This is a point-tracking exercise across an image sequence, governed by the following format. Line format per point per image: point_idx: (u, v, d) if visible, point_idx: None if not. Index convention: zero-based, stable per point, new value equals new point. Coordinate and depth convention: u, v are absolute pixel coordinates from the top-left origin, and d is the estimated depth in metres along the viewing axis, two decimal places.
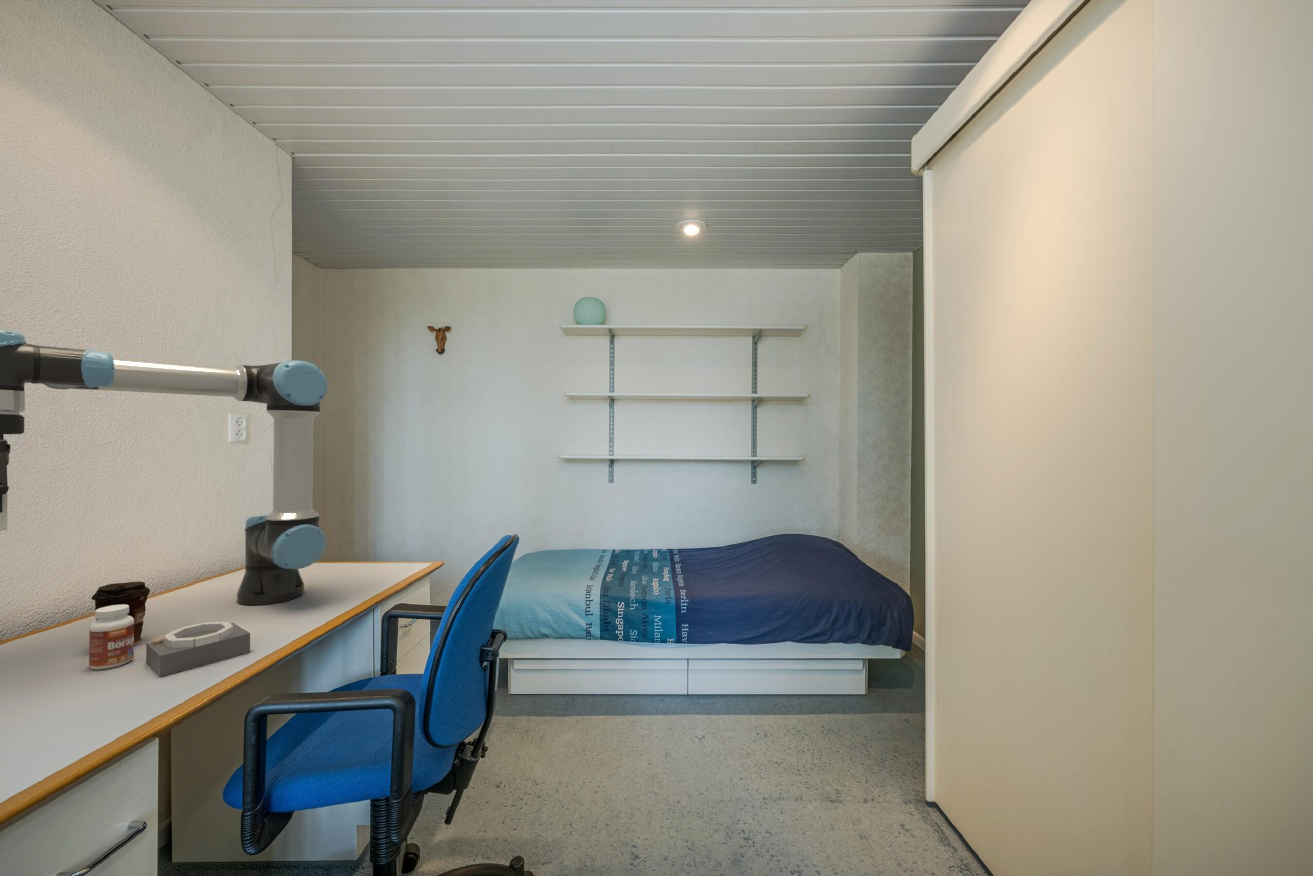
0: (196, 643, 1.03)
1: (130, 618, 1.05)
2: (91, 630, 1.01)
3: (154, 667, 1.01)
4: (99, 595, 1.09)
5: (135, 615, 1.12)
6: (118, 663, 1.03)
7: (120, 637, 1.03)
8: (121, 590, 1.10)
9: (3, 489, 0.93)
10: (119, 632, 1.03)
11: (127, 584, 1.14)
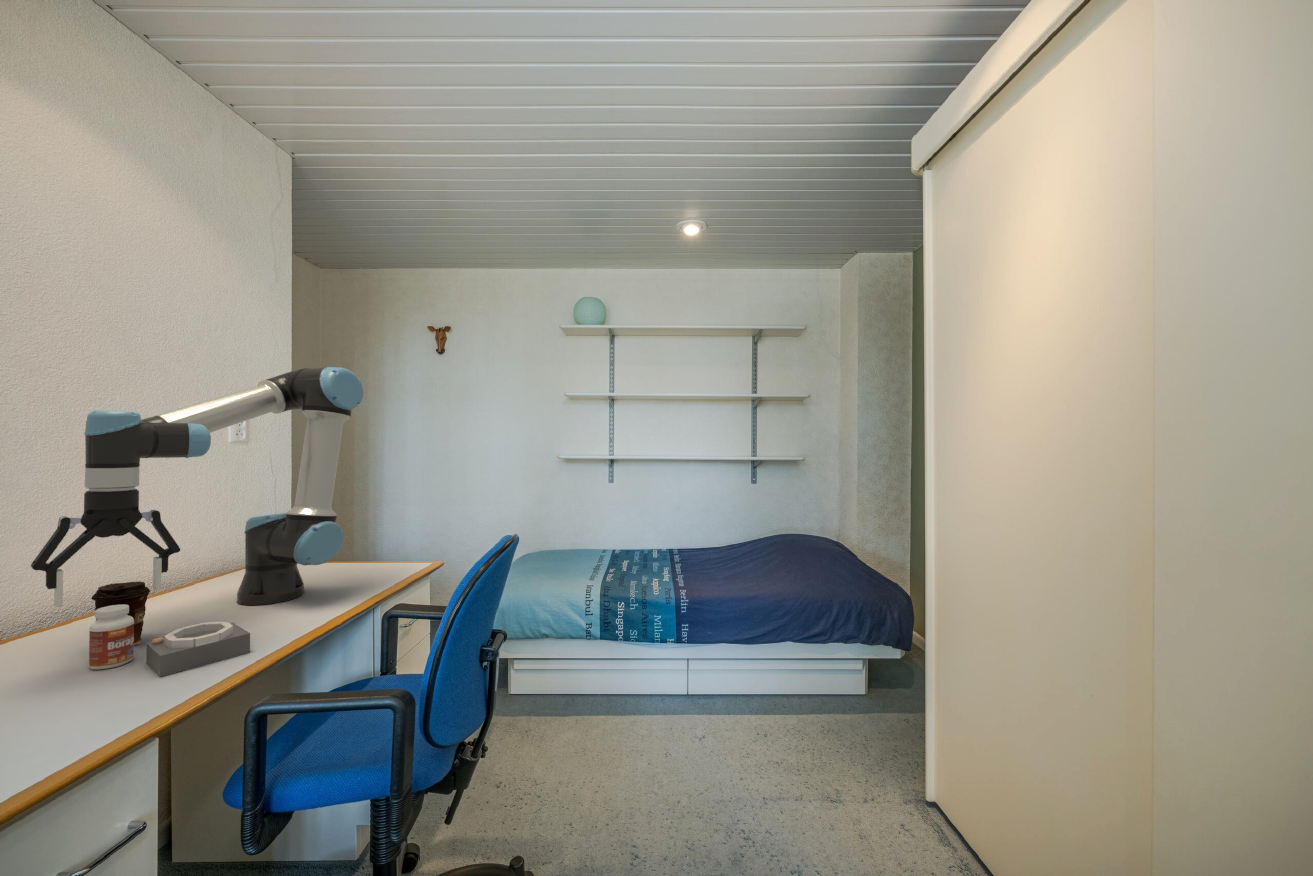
0: (196, 643, 1.03)
1: (130, 618, 1.05)
2: (91, 630, 1.01)
3: (154, 667, 1.01)
4: (99, 595, 1.09)
5: (135, 615, 1.12)
6: (118, 663, 1.03)
7: (120, 637, 1.03)
8: (121, 590, 1.10)
9: None
10: (119, 632, 1.03)
11: (127, 584, 1.14)
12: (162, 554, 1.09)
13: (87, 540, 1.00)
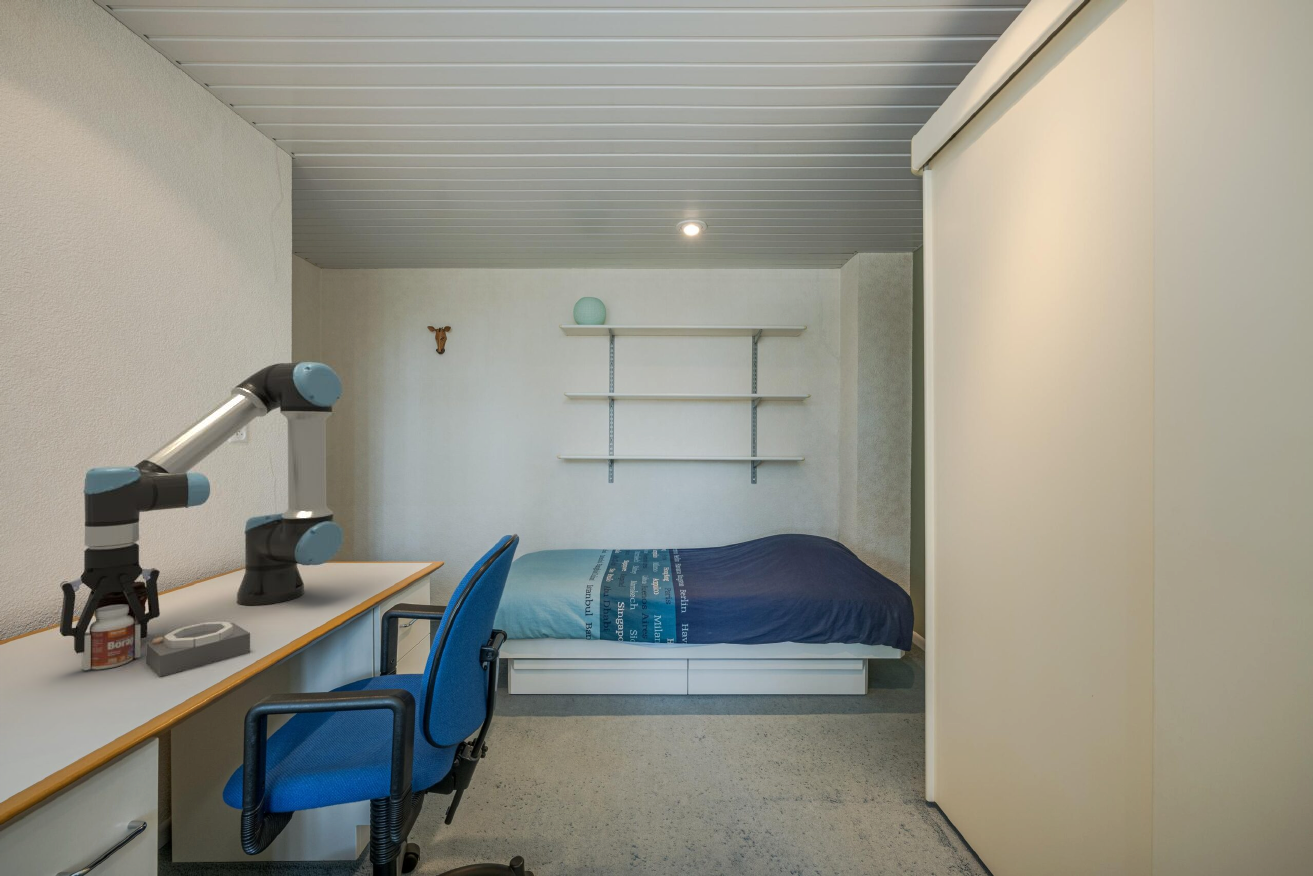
0: (196, 643, 1.03)
1: (130, 618, 1.05)
2: (91, 630, 1.01)
3: (154, 667, 1.01)
4: None
5: None
6: (118, 663, 1.03)
7: (120, 637, 1.03)
8: None
9: None
10: (119, 632, 1.03)
11: None
12: (141, 619, 1.06)
13: (98, 600, 1.01)
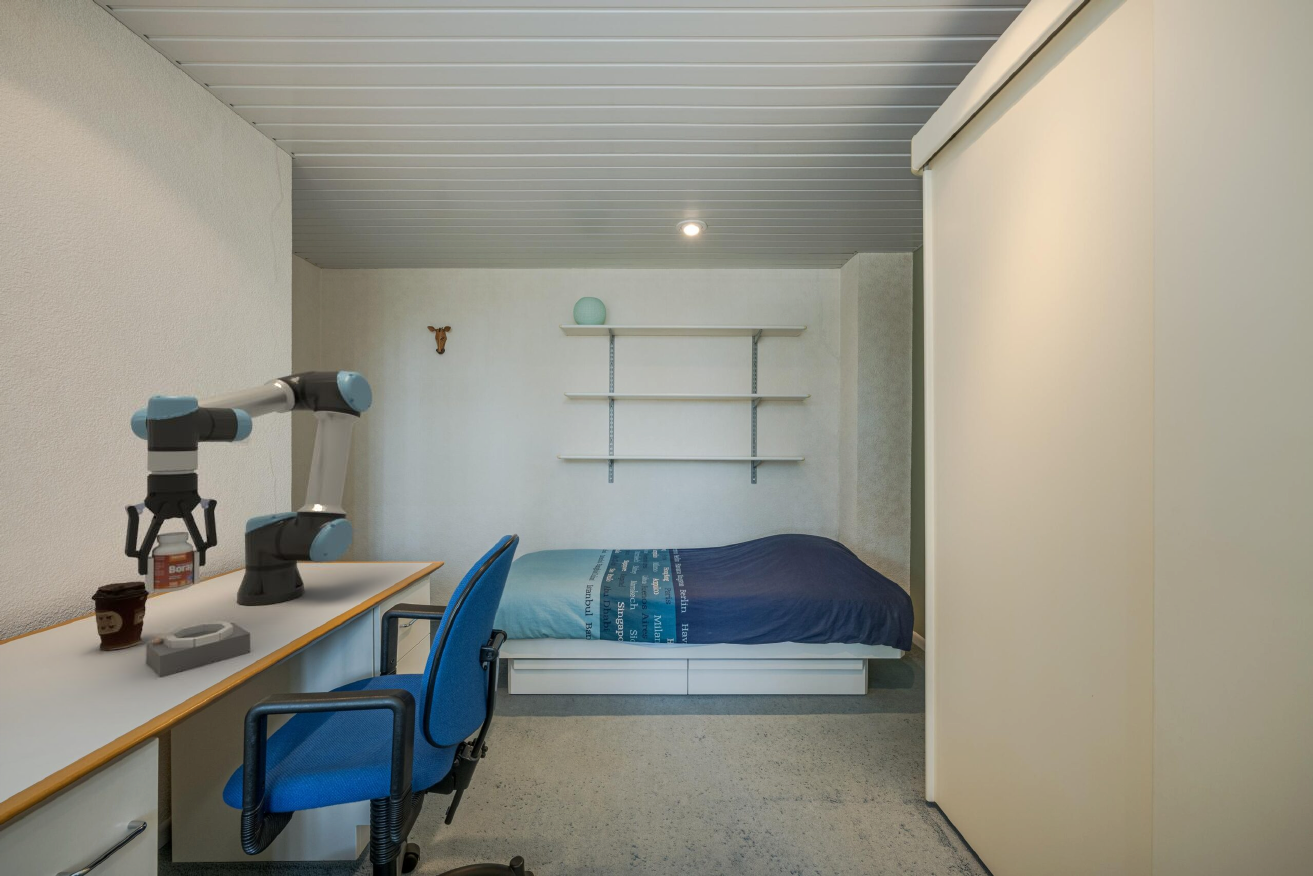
0: (196, 643, 1.03)
1: (190, 545, 1.07)
2: (154, 553, 1.03)
3: (154, 667, 1.01)
4: (99, 595, 1.09)
5: (135, 615, 1.12)
6: (179, 587, 1.05)
7: (180, 562, 1.05)
8: (121, 590, 1.10)
9: None
10: (179, 557, 1.05)
11: (127, 584, 1.14)
12: (200, 547, 1.08)
13: (160, 524, 1.03)
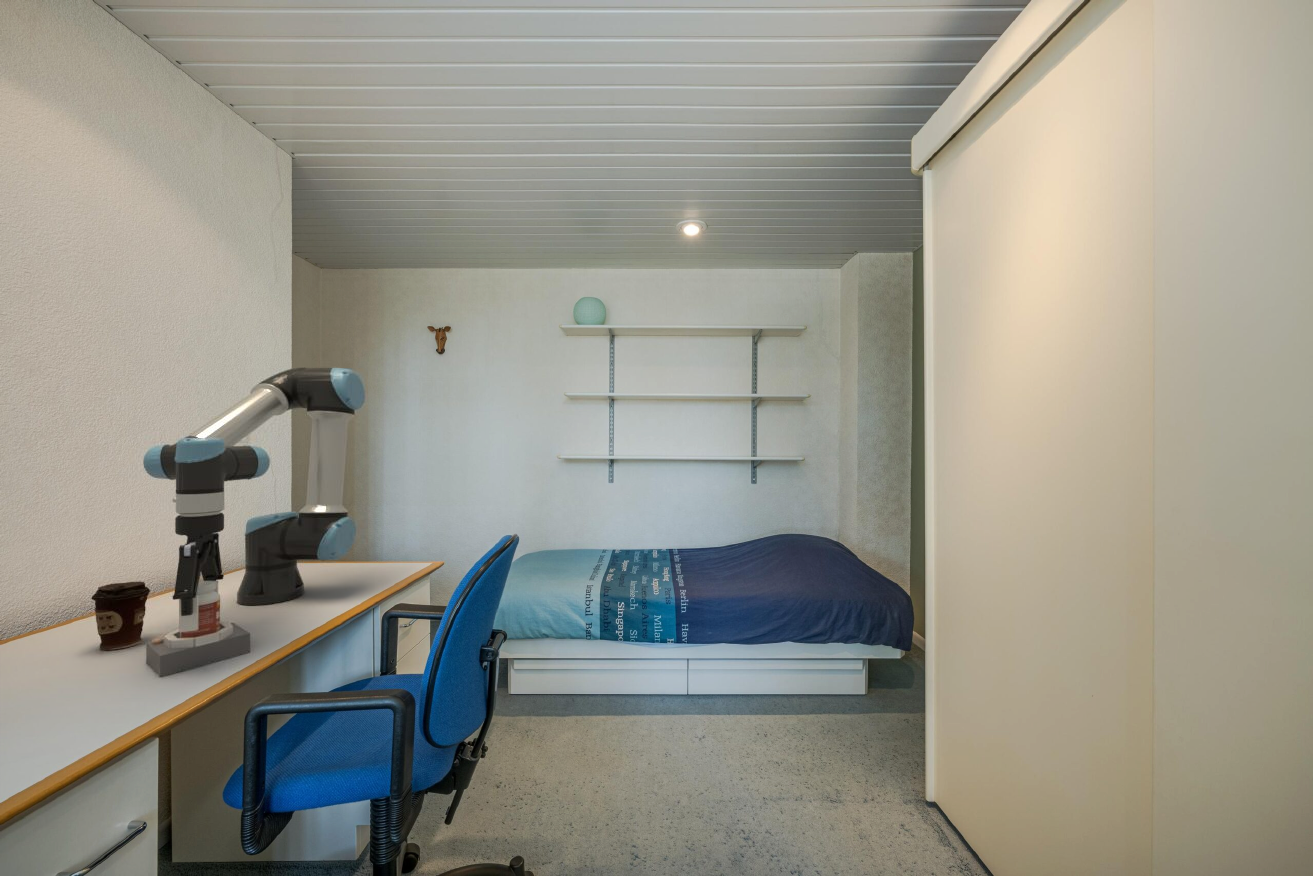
0: (196, 643, 1.03)
1: None
2: (201, 604, 1.05)
3: (154, 667, 1.01)
4: (99, 595, 1.09)
5: (136, 615, 1.12)
6: None
7: None
8: (121, 590, 1.10)
9: (187, 595, 0.99)
10: (219, 602, 1.09)
11: (127, 584, 1.14)
12: (217, 576, 1.13)
13: (203, 563, 1.05)
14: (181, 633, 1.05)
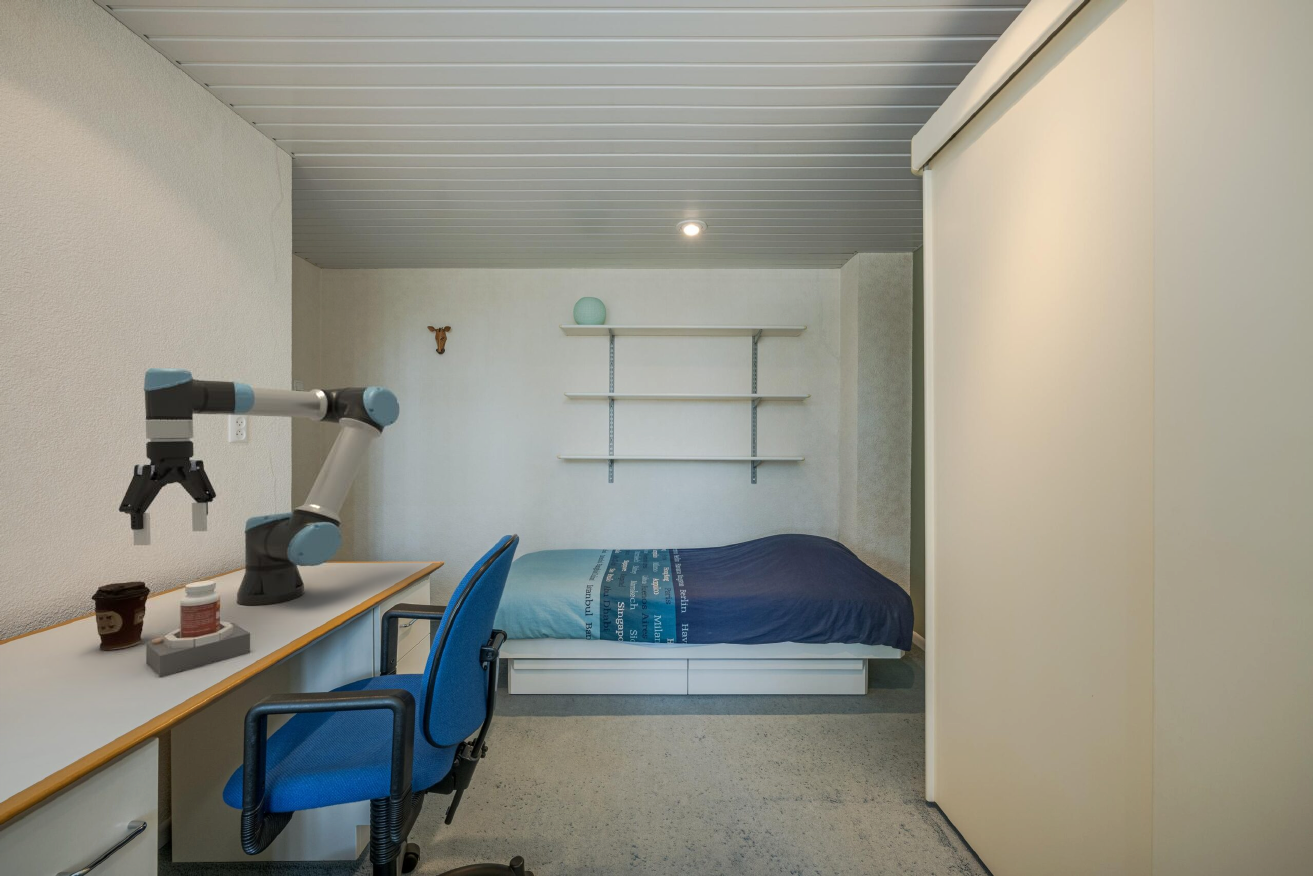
0: (196, 643, 1.03)
1: None
2: (201, 603, 1.05)
3: (154, 667, 1.01)
4: (99, 595, 1.09)
5: (136, 615, 1.12)
6: None
7: None
8: (121, 590, 1.10)
9: (128, 510, 1.04)
10: (219, 602, 1.09)
11: (127, 584, 1.14)
12: (206, 499, 1.22)
13: (163, 485, 1.11)
14: (181, 633, 1.05)
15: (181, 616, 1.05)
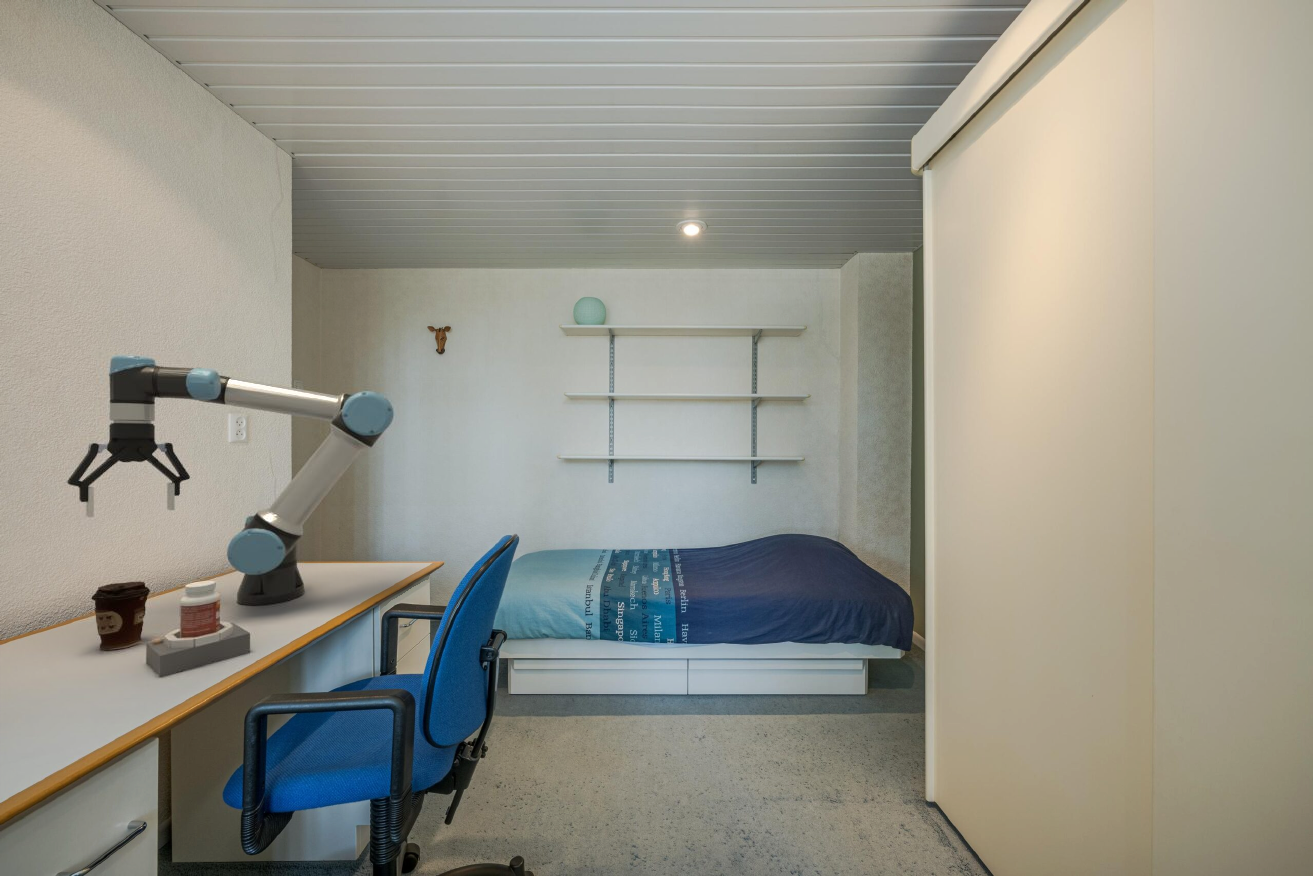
0: (196, 643, 1.03)
1: None
2: (200, 603, 1.05)
3: (154, 667, 1.01)
4: (99, 595, 1.09)
5: (135, 615, 1.12)
6: None
7: (219, 607, 1.09)
8: (121, 590, 1.10)
9: (68, 483, 1.15)
10: (219, 602, 1.09)
11: (127, 584, 1.14)
12: (175, 480, 1.29)
13: (113, 463, 1.20)
14: (181, 633, 1.05)
15: (181, 616, 1.05)
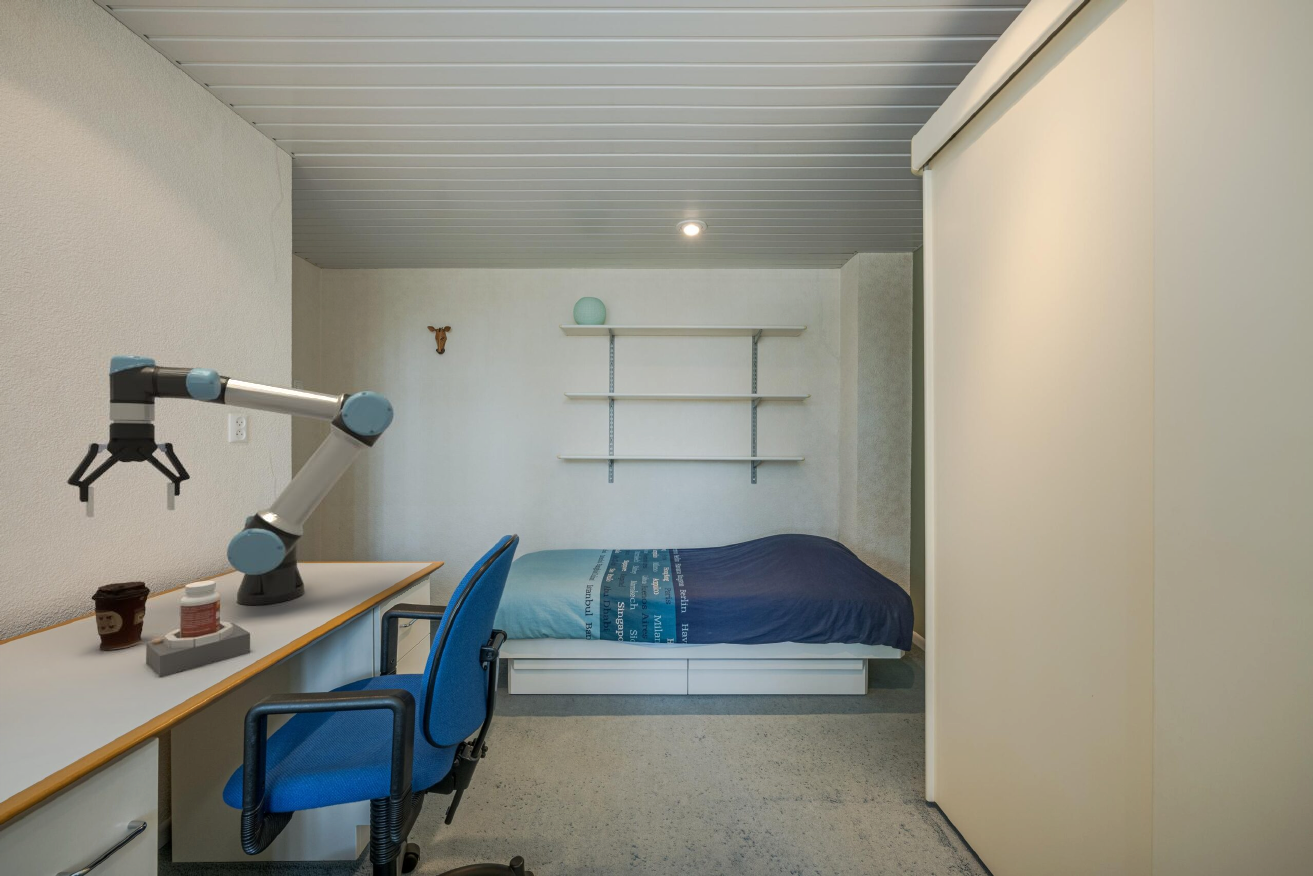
0: (196, 643, 1.03)
1: None
2: (200, 604, 1.05)
3: (154, 667, 1.01)
4: (99, 595, 1.09)
5: (135, 615, 1.12)
6: None
7: (219, 607, 1.09)
8: (121, 590, 1.10)
9: (68, 483, 1.15)
10: (219, 602, 1.09)
11: (127, 584, 1.14)
12: (175, 480, 1.29)
13: (112, 463, 1.20)
14: (181, 633, 1.05)
15: (181, 616, 1.05)
